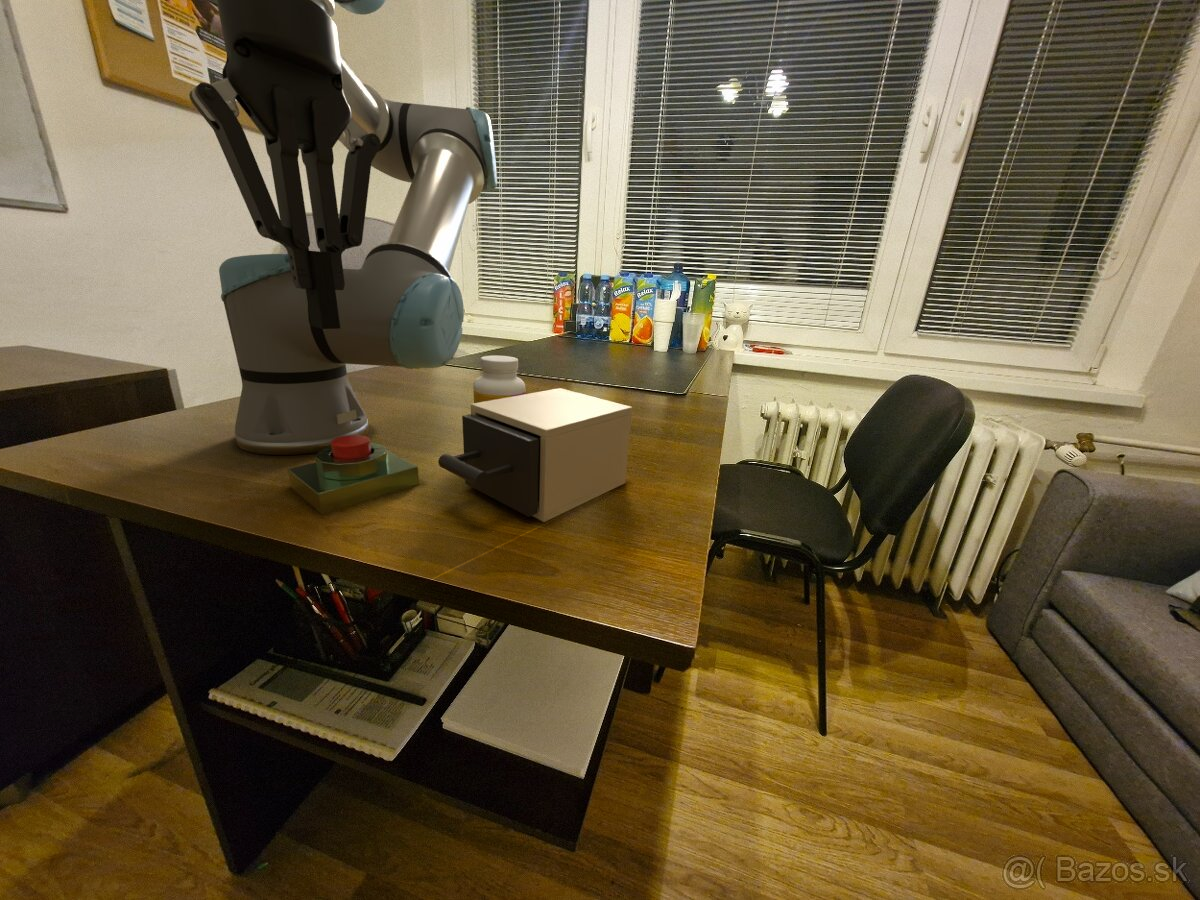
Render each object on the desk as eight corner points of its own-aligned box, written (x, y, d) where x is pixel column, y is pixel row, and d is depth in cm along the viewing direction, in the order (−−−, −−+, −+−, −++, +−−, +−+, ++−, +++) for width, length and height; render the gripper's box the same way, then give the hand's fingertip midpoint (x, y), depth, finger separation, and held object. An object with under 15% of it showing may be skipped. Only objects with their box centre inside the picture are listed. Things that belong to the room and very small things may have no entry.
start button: (327, 455, 46) (325, 439, 46) (362, 447, 49) (360, 432, 48) (342, 464, 44) (339, 448, 44) (377, 456, 47) (376, 440, 46)
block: (291, 487, 47) (284, 452, 45) (384, 464, 54) (381, 433, 53) (321, 514, 42) (314, 476, 41) (419, 484, 49) (416, 451, 48)
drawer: (492, 534, 39) (490, 452, 36) (428, 495, 45) (423, 423, 42) (608, 481, 51) (614, 417, 49) (546, 456, 57) (548, 398, 55)
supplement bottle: (514, 464, 56) (513, 364, 52) (466, 457, 57) (462, 359, 53) (531, 447, 63) (533, 357, 58) (488, 441, 64) (486, 352, 59)
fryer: (544, 522, 43) (546, 430, 40) (473, 485, 50) (470, 403, 47) (625, 483, 53) (632, 406, 50) (557, 456, 60) (559, 387, 57)
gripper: (171, -76, 26) (254, 334, 34) (388, 30, 36) (412, 329, 44) (148, -30, 30) (227, 324, 38) (348, 54, 40) (376, 322, 48)
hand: (325, 326), depth 41 cm, fingers closed
